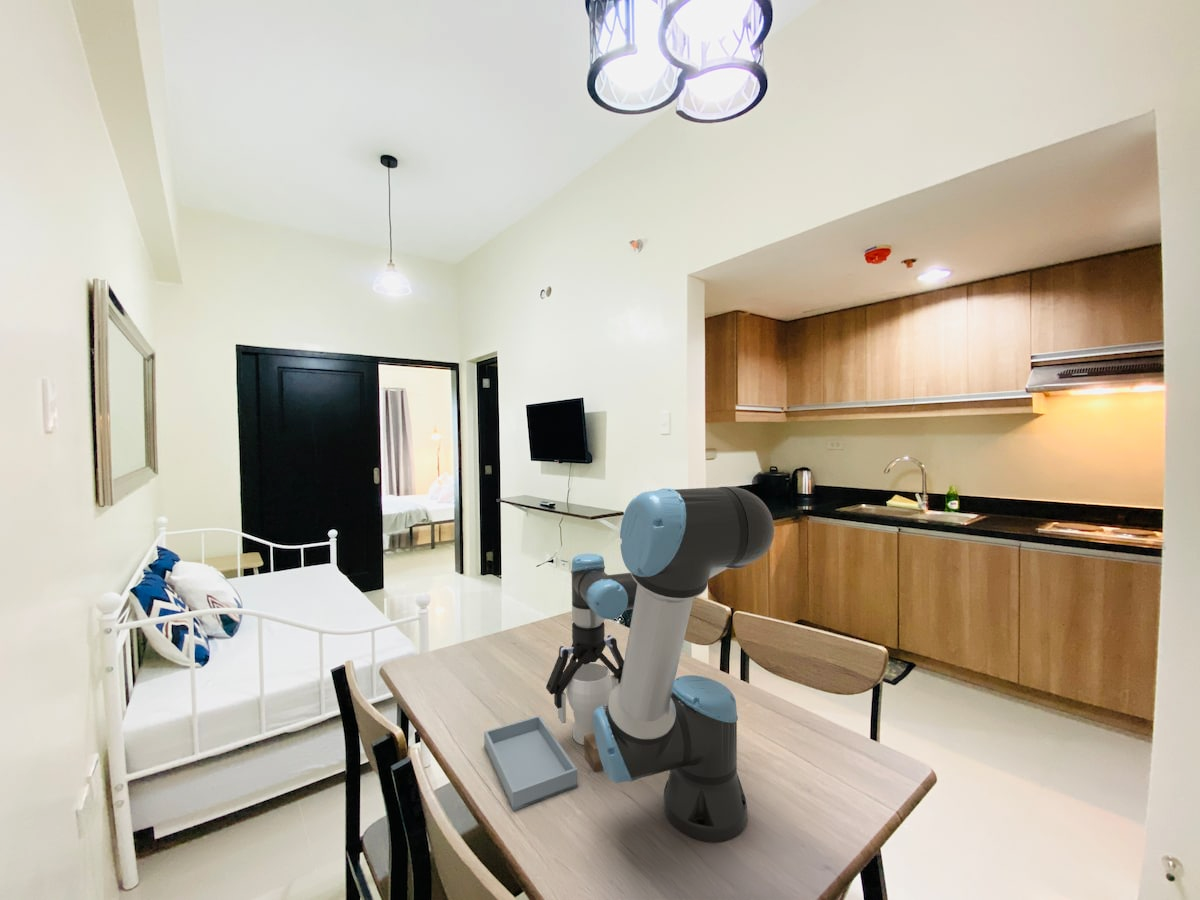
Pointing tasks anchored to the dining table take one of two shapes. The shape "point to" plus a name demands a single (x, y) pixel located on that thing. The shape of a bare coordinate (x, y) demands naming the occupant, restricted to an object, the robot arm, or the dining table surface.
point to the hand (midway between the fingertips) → (588, 712)
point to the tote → (529, 762)
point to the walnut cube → (592, 752)
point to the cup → (588, 696)
